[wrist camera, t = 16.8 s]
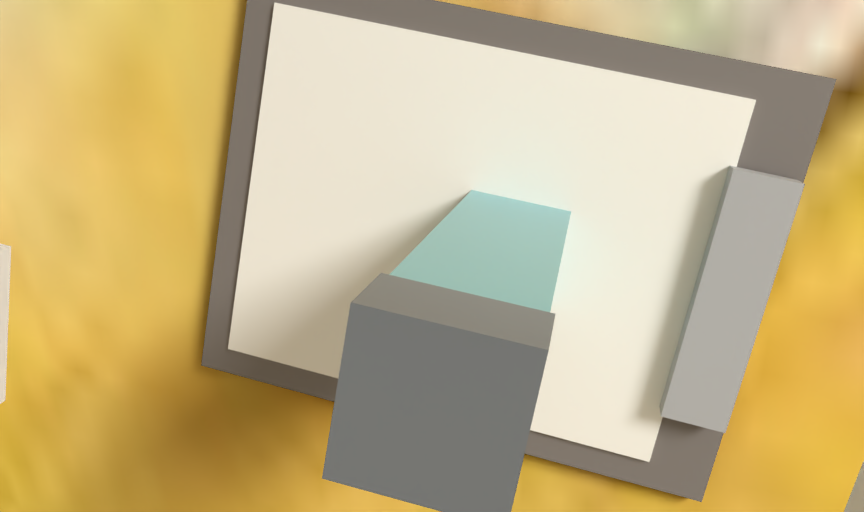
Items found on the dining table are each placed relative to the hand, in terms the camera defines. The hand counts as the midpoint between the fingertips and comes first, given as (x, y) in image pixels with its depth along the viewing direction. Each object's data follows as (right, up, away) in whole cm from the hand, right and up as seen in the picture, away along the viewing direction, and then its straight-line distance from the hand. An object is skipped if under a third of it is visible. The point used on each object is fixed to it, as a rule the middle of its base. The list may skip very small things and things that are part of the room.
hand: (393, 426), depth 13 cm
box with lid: (+3, +3, +14) cm, 15 cm away
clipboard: (+2, +3, +15) cm, 16 cm away
